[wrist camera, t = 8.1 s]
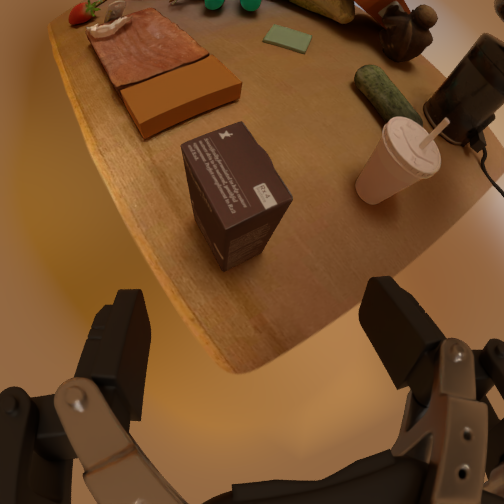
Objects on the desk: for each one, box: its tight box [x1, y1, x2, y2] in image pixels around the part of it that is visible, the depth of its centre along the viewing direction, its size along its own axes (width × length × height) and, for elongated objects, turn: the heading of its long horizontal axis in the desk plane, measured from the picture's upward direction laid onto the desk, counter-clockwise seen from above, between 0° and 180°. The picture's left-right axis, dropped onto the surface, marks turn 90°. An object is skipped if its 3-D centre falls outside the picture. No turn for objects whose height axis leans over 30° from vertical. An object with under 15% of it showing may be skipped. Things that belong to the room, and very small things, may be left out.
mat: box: [263, 24, 312, 54], centre depth 37 cm, size 7×7×1 cm
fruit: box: [69, 0, 101, 25], centre depth 33 cm, size 5×5×8 cm
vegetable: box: [354, 65, 423, 127], centre depth 32 cm, size 14×5×5 cm, turn 24°
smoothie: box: [355, 117, 450, 205], centre depth 23 cm, size 6×6×14 cm
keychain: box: [104, 1, 126, 23], centre depth 30 cm, size 10×1×3 cm
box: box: [181, 121, 293, 272], centre depth 20 cm, size 6×4×12 cm
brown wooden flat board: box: [86, 8, 242, 139], centre depth 30 cm, size 13×30×3 cm, turn 34°
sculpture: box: [379, 5, 438, 62], centre depth 33 cm, size 11×11×15 cm
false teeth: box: [87, 15, 133, 38], centre depth 28 cm, size 8×6×2 cm
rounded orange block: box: [354, 0, 411, 30], centre depth 35 cm, size 24×8×11 cm
